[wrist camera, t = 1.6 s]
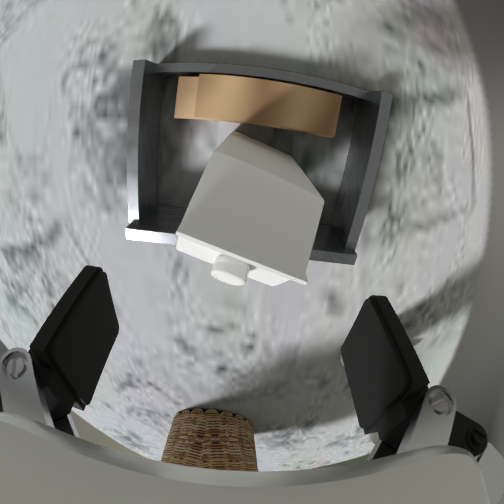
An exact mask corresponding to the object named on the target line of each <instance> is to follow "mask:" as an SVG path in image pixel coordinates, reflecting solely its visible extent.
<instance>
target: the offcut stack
mask: <svg viewBox="0 0 504 504" xmlns="http://www.w3.org/2000/svg"><path fill="white" fill-rule="evenodd" d="M341 100H342V96H341V95H337V94H334V93H330V92H326V91H322V90H317V89H313V88H308V87H304V86H299V85H294V84H288V83H283V82H277V81H270V80H264V79H256V78H248V77H239V76H228V75H214V74H199V77H184V76H179V80H178V88H177V96H176V105H175V115H174V118H184V119H202V120H215V121H226V122H236V123H244V124H252V125H260V126H267V127H273V128H279V129H285V130H291V131H296V132H302V133H307V134H312V135H316V136H321V137H329V138H331V137H335V133H336V128H337V122H338V117H339V112H340V106H341Z"/></svg>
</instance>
